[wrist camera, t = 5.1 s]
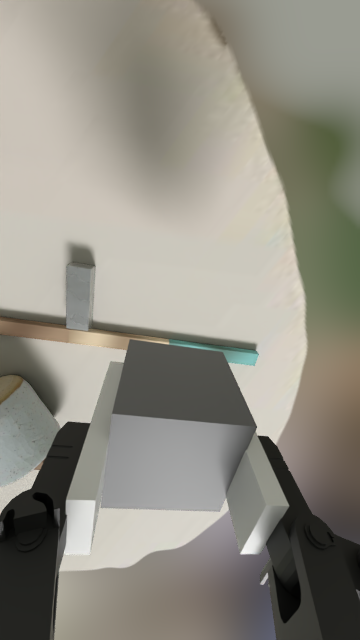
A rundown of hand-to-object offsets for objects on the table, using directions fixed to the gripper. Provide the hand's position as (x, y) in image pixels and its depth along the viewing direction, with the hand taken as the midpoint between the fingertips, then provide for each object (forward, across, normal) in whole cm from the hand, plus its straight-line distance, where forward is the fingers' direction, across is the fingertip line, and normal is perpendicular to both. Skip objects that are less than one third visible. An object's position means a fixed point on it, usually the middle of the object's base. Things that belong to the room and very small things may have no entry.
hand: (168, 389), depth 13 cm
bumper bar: (+12, -8, 0) cm, 15 cm away
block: (0, 0, 0) cm, 0 cm away
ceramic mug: (+13, -15, -14) cm, 24 cm away
